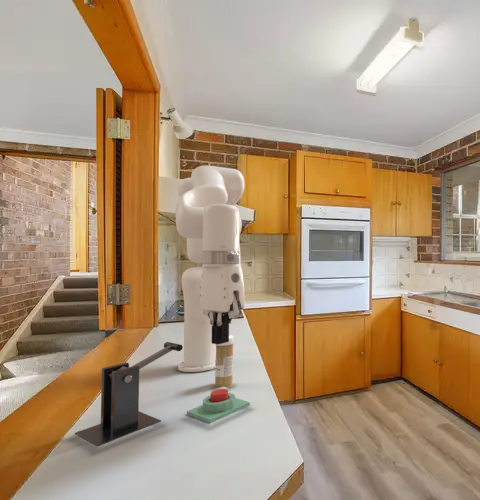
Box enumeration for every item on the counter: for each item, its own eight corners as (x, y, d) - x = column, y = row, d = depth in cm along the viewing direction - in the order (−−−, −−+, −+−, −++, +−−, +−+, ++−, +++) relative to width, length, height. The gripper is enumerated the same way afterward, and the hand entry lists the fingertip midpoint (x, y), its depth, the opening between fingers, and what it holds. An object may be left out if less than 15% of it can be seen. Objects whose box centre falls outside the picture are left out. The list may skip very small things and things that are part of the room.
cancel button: (221, 395, 80) (221, 387, 80) (231, 398, 78) (231, 390, 78) (206, 401, 76) (206, 393, 76) (217, 404, 75) (217, 396, 75)
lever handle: (171, 348, 80) (168, 338, 80) (184, 350, 78) (181, 341, 77) (108, 383, 70) (104, 373, 69) (121, 388, 67) (117, 377, 66)
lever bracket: (137, 416, 76) (138, 357, 76) (160, 426, 72) (162, 363, 72) (74, 438, 66) (76, 371, 67) (97, 452, 62) (98, 379, 62)
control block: (226, 402, 83) (226, 387, 83) (249, 409, 79) (250, 394, 80) (186, 419, 75) (186, 402, 75) (210, 428, 71) (210, 410, 71)
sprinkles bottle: (211, 387, 93) (212, 336, 93) (227, 383, 96) (228, 334, 97) (219, 391, 90) (220, 339, 90) (236, 386, 93) (237, 336, 94)
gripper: (258, 259, 77) (257, 343, 77) (214, 260, 85) (213, 336, 84) (229, 259, 71) (228, 350, 70) (184, 260, 78) (183, 342, 78)
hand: (220, 342), depth 77 cm, fingers closed
